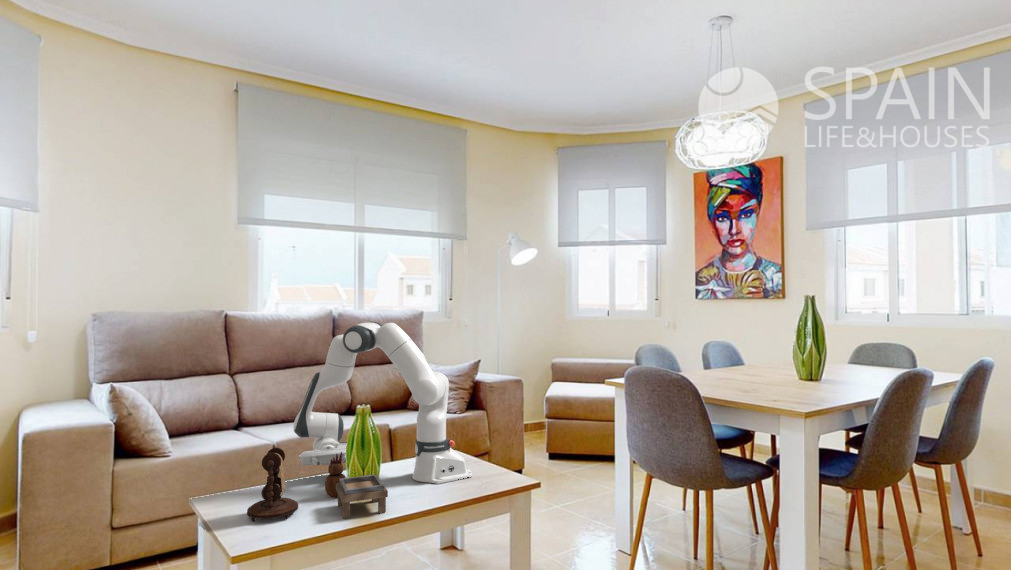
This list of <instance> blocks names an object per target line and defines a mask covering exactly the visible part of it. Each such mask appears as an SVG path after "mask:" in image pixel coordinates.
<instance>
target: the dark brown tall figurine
mask: <svg viewBox="0 0 1011 570" xmlns="http://www.w3.org/2000/svg"><path fill="white" fill-rule="evenodd" d="M285 458H286V453H285V451H284V450H283V449H282V448H280V447H272V448H270V449H269V450H268V451H267V453H266V454H265V455H264V456H263V457H262V459H261V466H262V468H263V470H265V471H266V472H267V476H266V484H265V485H264V486H263V488H262V489H261V494H260V495H261V497H262V500H259V501H256V502H255V503H253V504H252V505H250V506H249V507H248V508H247V512H246V513H247V516H248V517H249V518H251V521H252V523H255V521H256V520H270V519H278V518H281V517H284V519H285V520H288V519H289V515H292V514H293V513H295V512H297V511H298V509H299V502H298V501H297V500H295V499H293V498H289V497H282V496H283V495H284V493H285V491H286V478H285V473H284V462H285V461H284V460H285ZM279 473H280V477H279Z"/></svg>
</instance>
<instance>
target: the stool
mask: <svg viewBox="0 0 1011 570" xmlns="http://www.w3.org/2000/svg"><path fill="white" fill-rule="evenodd" d="M336 491H337V493H338V498H337V508H341V510H342V512H341V516H342V517H343V518H342V517H341V518H342V519H343V520H347V519H350V518H351V503H352V502H353V503H354V502H359V501H367V500H368V501H369V500H371V503H372V504H373V503H377V512H378V514H379V513H381V514H386V513H385V512H386V511H387V508H386V506H387V505H386V504H387V500H386V499H387V498H388V497H389V491H388V489H387V488H386V486H385V484H384V483H383V481H382V480H381V479H380V477H379V476H378V474H370V475H361V476H353V477H346V478H343V479H339V483H336ZM346 518H347V519H346Z"/></svg>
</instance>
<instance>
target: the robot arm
mask: <svg viewBox="0 0 1011 570" xmlns="http://www.w3.org/2000/svg"><path fill="white" fill-rule="evenodd" d="M378 348H379V349H380V350H381V351H383V352H384V354H385V356H387V358H388V359H389V360H390V362H391V364H393V365H394V367H395V369H397V371H398V372H399V373H400V375H401V377H402V378H403V380H404V382H405V383H406V385H407V387H408V389H409V391H410V392H411V396H412V398H413V400H414V401H415V402H416V404H418V406H419V407H418V411H417V417H416V439H415V444H414V445H415V446H414V452H415V462H414V463H415V464H414V469H413V474H412V480H414V481H417V482H422V483H430V484H431V483H432V484H438V485H439V484H443V483H449V482H454V481H458V479H459V480H463V478H464V479H468V478H467V477H469V478H471V476H473V472H472V470H471V469H470V468H467V464H466V460H465V458H464V457H463V456H462V455H461V454H460V453H458V452H457V451H455V450H454V449H453V448H452V447H454V446H455V444H456V443H455V441H454V440H451V439H450V438H447V412H448V402H449V390H450V381H449V379H448V377H447V375H445V374H444V373H442V372H439V371H433V370H432V368H431V366H430V365H429V363H428V361H427V360H426V356H425V355H424V353H423V352H422V350H421V349H419V347H418V346H417V344H416V343H415V342H414V341H413V339H412V338H411V337H410V336H409V335H408V334H407V333H406V332H405V331H404V329H402V328H401V327H400V326H399V325H398V324H396V323H395V322H386V323H384V324H382V323H380V322H377V321H368V322H361V323H357V324H355V325H352V326H350V327H348V328H347V329H346V331H344V333H343V334H338V335H336V336H334V337H333V338H332V340H331V342H330V346H329V348H328V350H327V354H326V360H325V364H324V366H323V367H322V369H321V370H320V371H318V372H316V373H315V374H314V375H313V377H312V379H311V381H310V383H309V386H308V389H307V391H306V394H305V395H304V398H303V400H302V403H301V406H300V408H299V411H298V413H297V414H296V417H295V419H294V422H293V432H294V434H296V435H297V436H298V437H299V438H300V439H301V438H305V439H307V438H314V441H313V442H312V450H305V451H303V452H301V454H299V455H298V459H300V465H301V466H303V467H304V466H312V465H313V466H320V465H322V466H329V465H330V462H331V459H332V461H333V457H334V458H335V461H336V454H337V455H338V460H339V457H340V454H341V452H342V463H347V462H346V446H347V442H348V441H341V440H342V438H343V435H344V427H345V425H344V419H343V418H342V417H341V416H342V415H340V414H339V413H336V412H335V413H334V412H333V413H332V412H317V411H312V410H313V408H314V405H315V402H316V400H317V399H318V398H317V397H318V395H319V394H320V393H321V392H322V391H325V390H327V389H330V388H333V387H335V388H336V387H338V386H341V385H344V384H345V383H347V382H348V381H349V380H350V379H351V378H352V376H353V374H354V369H355V366H356V364H355V363H356V359H357V356H358V354H361V353H366V352H370V351H373V350H375V349H378Z"/></svg>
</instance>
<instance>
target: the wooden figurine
mask: <svg viewBox="0 0 1011 570" xmlns="http://www.w3.org/2000/svg"><path fill="white" fill-rule="evenodd" d="M327 470H328V475H327V476H326V478H325V482H324V490H325V493H326V496H328V497H329V498H332V499H336V498H337V499H338V493H337V491H336V483H339V479H343V478H347V477H346V476H345V474H343V471H344V466H343V462H342V452H341V454H340V457H339V460H338V455H337V454H336V461H335V458H334V457H333V461H332V459H331V462H330V465H328V467H327Z"/></svg>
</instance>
